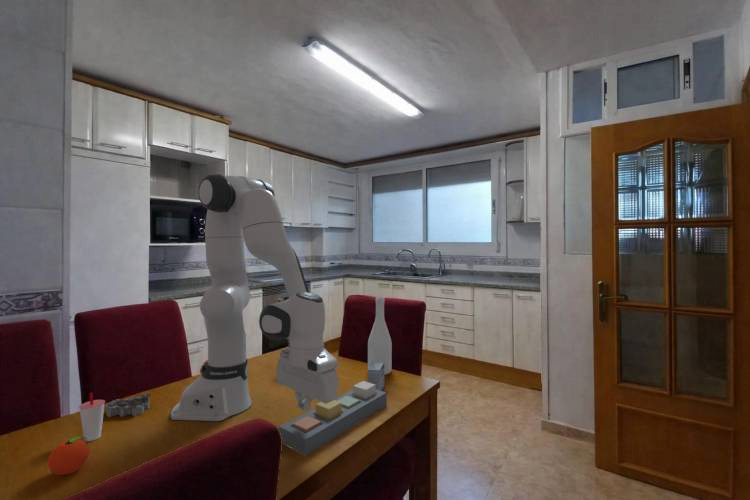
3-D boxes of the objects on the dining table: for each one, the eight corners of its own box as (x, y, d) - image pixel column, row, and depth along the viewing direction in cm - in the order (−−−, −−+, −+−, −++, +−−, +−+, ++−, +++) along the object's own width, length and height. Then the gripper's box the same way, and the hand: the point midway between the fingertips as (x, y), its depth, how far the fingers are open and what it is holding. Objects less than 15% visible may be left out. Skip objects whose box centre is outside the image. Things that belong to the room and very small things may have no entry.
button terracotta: (306, 443, 88) (306, 429, 88) (292, 436, 91) (292, 423, 91) (320, 434, 92) (320, 421, 92) (307, 428, 95) (307, 415, 95)
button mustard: (328, 422, 94) (328, 409, 94) (315, 416, 97) (315, 404, 97) (341, 415, 98) (341, 402, 98) (328, 409, 101) (328, 397, 101)
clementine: (74, 458, 83) (73, 428, 83) (101, 460, 82) (101, 430, 82) (38, 481, 75) (38, 448, 75) (68, 483, 74) (68, 450, 74)
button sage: (348, 418, 101) (348, 406, 101) (335, 413, 104) (335, 401, 104) (359, 411, 105) (359, 400, 105) (346, 407, 108) (346, 395, 108)
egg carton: (153, 406, 111) (153, 393, 111) (138, 417, 103) (138, 403, 103) (118, 406, 110) (118, 393, 110) (101, 418, 103) (101, 404, 103)
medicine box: (380, 396, 119) (380, 370, 118) (367, 394, 119) (367, 369, 119) (384, 386, 126) (384, 362, 126) (372, 385, 127) (372, 361, 127)
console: (305, 456, 85) (305, 439, 84) (278, 441, 91) (278, 426, 90) (386, 405, 112) (386, 392, 112) (362, 396, 118) (362, 384, 118)
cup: (75, 445, 88) (75, 398, 88) (83, 435, 93) (83, 390, 93) (101, 440, 91) (101, 394, 90) (108, 430, 96) (107, 386, 95)
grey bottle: (364, 369, 144) (364, 296, 144) (385, 366, 147) (386, 295, 147) (372, 377, 135) (373, 299, 135) (395, 374, 139) (395, 298, 138)
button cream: (365, 401, 107) (365, 389, 107) (353, 396, 110) (353, 385, 110) (375, 395, 111) (375, 384, 111) (363, 391, 114) (363, 380, 114)
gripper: (271, 349, 95) (269, 400, 95) (324, 368, 83) (321, 426, 83) (290, 344, 100) (287, 393, 100) (343, 362, 88) (340, 417, 88)
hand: (303, 408), depth 92 cm, fingers closed
